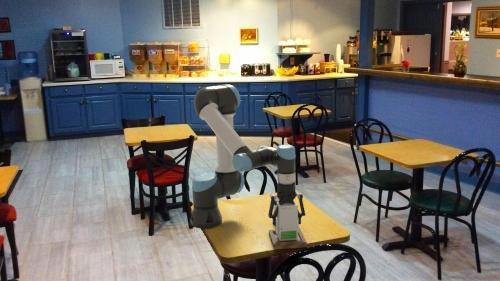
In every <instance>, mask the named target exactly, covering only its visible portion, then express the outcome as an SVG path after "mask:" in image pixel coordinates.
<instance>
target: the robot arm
mask: <svg viewBox="0 0 500 281" xmlns="http://www.w3.org/2000/svg"><path fill="white" fill-rule="evenodd" d="M240 104H241V95H240V93H239V90H237V87H236V86H234V85H231V84H221V85H213V86H212V85H211V86H205V87H202V88H200V89H199V90H198V91H197V92H196V93H195V96H194V98H193V106H194V110H195V112H196V115H197V116H198V117H199V119H201V120H202V121H205V123H206V124H207V125H208V126H209V127H210V129H211V130H212V131H213V132H214V134H215V140H216V142H215V143H216V155H217V156H216V157H217V166H216V167H215V168H214V173H213V172H204V173H199V174H198V175H196V176H195V177H193V178H192V181H191V190H192V205H193V206H192V211H191V212H192V213H191V216H190V226H192V227H194V228H195V229H202V230H203V229H213V228H216V227H219V226H220V225H221V224H223V216H222V214H221V211H220V209H219V204H218V203H219V202H218V200H221V199H222V198H225V197H229V196H234V195H235V194H238V193H240V192H241V191H242V190H243V188H244V187H245V186H244V185H245V176H244V175H243V172H248V171H251V170H253V169H257V168H261V167H264V166H268V165H270V166H274V167H277V168H276V172H277V179H276V180H277V192H276V194H273V193H272V194H270V195H269V196H270V204H269V209H268V214H267V216H268V218H269V219H272V226H274V228H275V229H274V230H275V232H276V234H278V219H277V215H278V206H277V207H276V209H275V211H274V213H273V208H274V202H275V201H274V200H276V198H277V197H278V199H279V202H278V203H279V205H283V204H285V203H292V205H293V204H295V203H294V201H295V199H296V197H297V200H298V202H299V207H300V210H298V232H299V228H300V225H301V224H302V217H305V216H306V211H305V207H304V202H303V201H304V200H303V197H304V195H303V193H302V192H299V193H297V191H296V157H297V156H296V148H295V146H293V145H291V144H281V145H280V144H279V145H278V146H277V147H274V146H270V145H260V146H259V147H258V148H256V149H254V150H251V149H250V147H248V145H247V143H245V141H243V139H242V138H241V137H240V136H239V134H238V133H237V132H236V130H235V129H234V116H235V115H236V114H237V110H236V109H237V108H239V106H240Z"/></svg>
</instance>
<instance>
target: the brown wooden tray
mask: <svg viewBox="0 0 500 281" xmlns="http://www.w3.org/2000/svg"><path fill="white" fill-rule="evenodd" d="M268 236H269V239H270V242H271V245H272V248H273V250H282V249H296V248H297V249H298V248H307V247H308V242H307V240H306V238H305V236H304V234H303V232H302V230H301V227H299V232H298V239H297V240H285V241H280V240H279V239H278V237H277V234H276V232H275V229H268Z"/></svg>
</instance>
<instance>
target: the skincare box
mask: <svg viewBox="0 0 500 281" xmlns="http://www.w3.org/2000/svg"><path fill="white" fill-rule="evenodd" d="M293 201H294V203H295V204H293V205H292V203H285V204H283V205H279V203H278V202H276V203H277V206H278V215H277V219H278V234H277V237H278V239H279V240H280V241H285V240H297V239H298V211H299V205H298V204H297V202H296V201H295V200H293Z"/></svg>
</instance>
